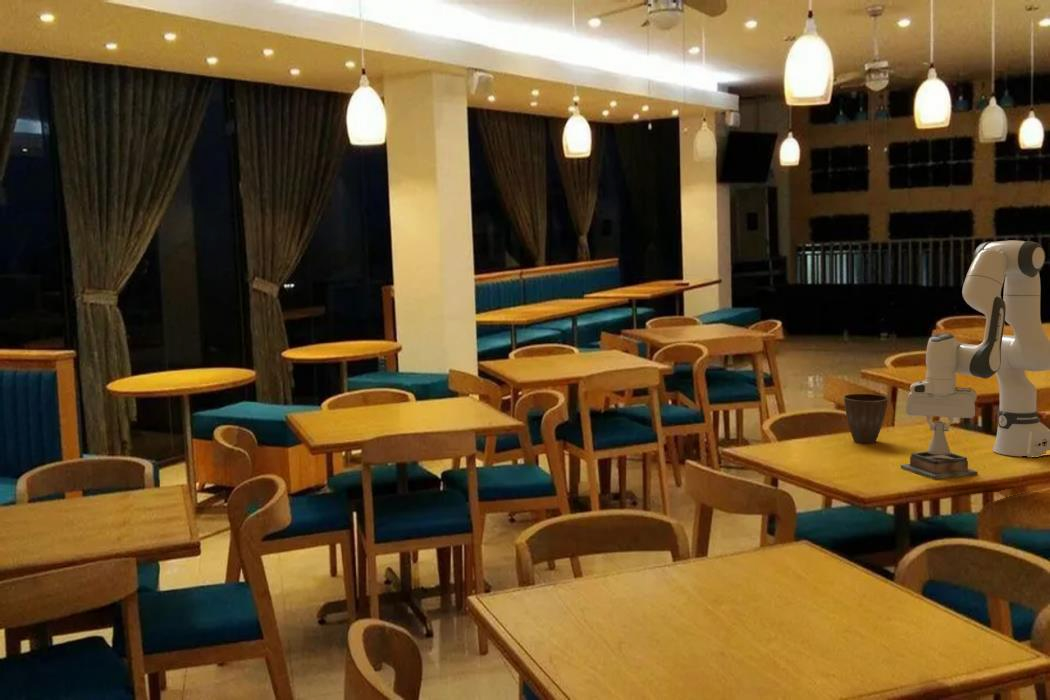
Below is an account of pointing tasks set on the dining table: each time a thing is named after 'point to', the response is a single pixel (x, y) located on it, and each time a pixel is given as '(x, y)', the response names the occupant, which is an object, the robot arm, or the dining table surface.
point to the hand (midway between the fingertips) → (939, 430)
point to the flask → (939, 441)
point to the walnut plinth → (939, 465)
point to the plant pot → (865, 416)
